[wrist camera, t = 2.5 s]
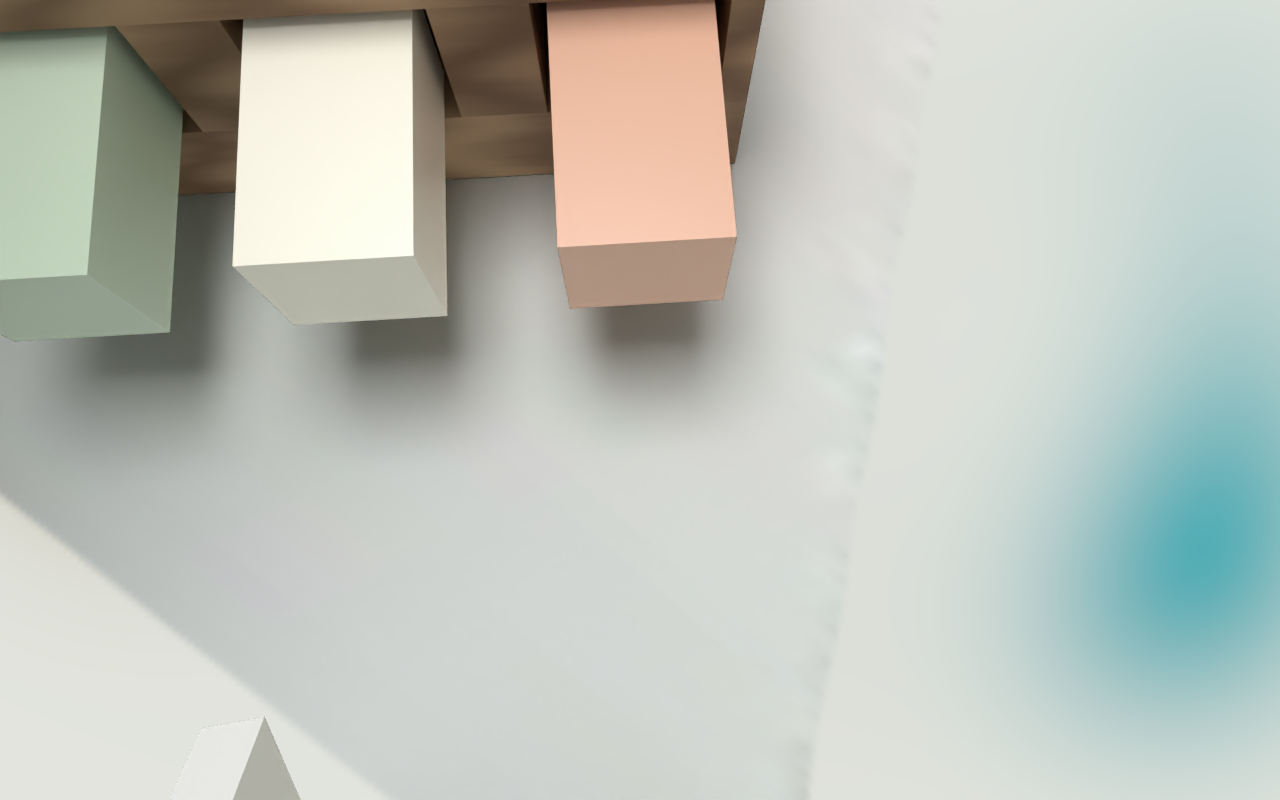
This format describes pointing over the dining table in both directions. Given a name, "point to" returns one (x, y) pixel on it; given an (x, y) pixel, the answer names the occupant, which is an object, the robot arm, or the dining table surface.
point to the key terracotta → (640, 151)
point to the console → (452, 3)
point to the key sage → (85, 187)
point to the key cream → (342, 167)
